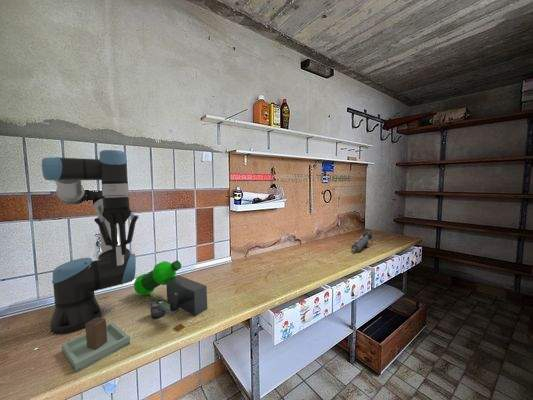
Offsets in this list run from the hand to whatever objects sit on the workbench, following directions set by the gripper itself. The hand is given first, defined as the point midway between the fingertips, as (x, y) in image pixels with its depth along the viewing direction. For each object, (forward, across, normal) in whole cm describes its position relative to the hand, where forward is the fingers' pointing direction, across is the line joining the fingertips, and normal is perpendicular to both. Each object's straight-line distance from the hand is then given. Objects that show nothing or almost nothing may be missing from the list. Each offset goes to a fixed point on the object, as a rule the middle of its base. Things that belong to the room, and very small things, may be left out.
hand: (120, 264), depth 80 cm
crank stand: (+24, +17, +7) cm, 30 cm away
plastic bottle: (+21, -1, +30) cm, 37 cm away
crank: (+20, +13, +3) cm, 24 cm away
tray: (+24, -6, -6) cm, 26 cm away
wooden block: (+24, -6, -6) cm, 25 cm away
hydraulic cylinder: (+25, +148, +51) cm, 158 cm away
